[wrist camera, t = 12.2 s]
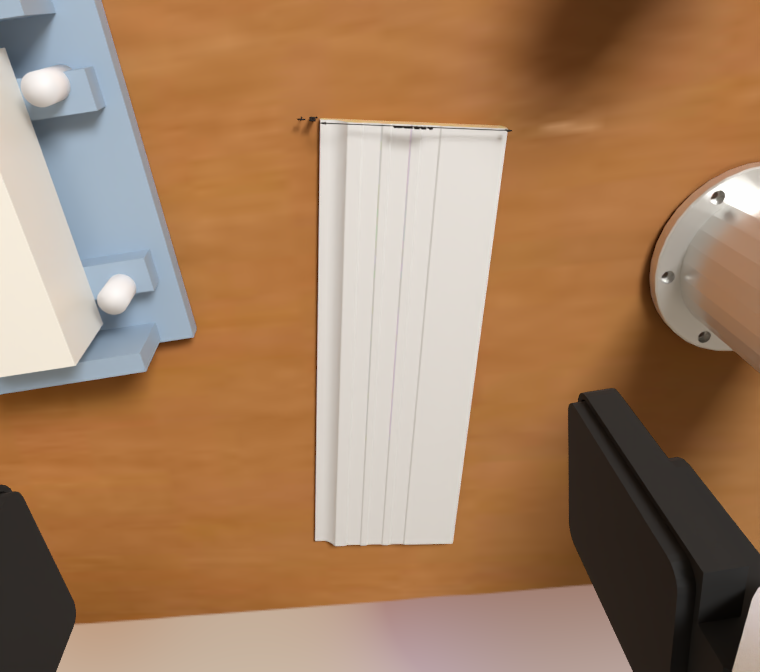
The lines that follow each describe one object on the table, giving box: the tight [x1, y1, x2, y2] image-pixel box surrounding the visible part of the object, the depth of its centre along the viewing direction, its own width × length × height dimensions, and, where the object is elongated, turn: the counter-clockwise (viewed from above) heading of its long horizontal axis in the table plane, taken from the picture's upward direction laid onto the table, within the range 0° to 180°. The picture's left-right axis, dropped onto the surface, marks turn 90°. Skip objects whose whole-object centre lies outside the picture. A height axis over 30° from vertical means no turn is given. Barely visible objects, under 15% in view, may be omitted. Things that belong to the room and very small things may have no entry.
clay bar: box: [0, 48, 103, 377], centre depth 34 cm, size 15×4×5 cm, turn 7°
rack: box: [0, 0, 197, 394], centre depth 36 cm, size 20×13×5 cm, turn 8°
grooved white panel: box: [297, 117, 512, 546], centre depth 44 cm, size 31×3×12 cm
